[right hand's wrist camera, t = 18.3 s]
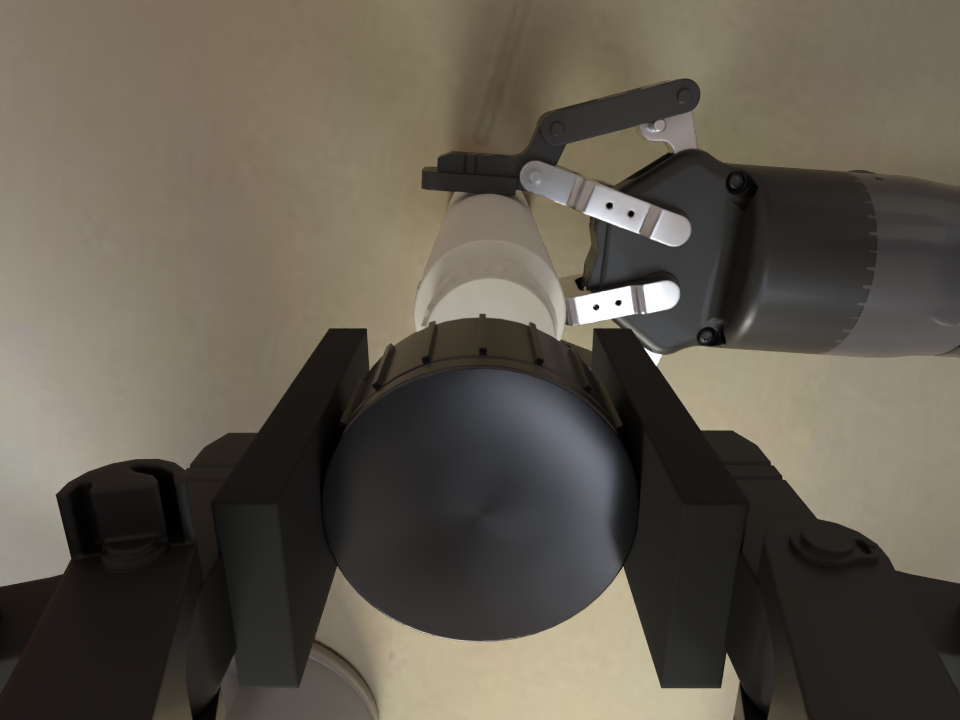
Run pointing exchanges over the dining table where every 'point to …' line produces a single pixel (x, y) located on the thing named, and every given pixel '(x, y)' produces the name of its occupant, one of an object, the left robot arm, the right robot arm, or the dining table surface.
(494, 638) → the lid
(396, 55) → the dining table surface
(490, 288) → the bottle
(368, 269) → the dining table surface
